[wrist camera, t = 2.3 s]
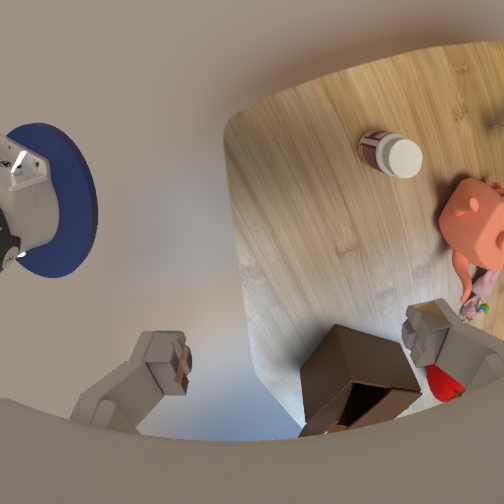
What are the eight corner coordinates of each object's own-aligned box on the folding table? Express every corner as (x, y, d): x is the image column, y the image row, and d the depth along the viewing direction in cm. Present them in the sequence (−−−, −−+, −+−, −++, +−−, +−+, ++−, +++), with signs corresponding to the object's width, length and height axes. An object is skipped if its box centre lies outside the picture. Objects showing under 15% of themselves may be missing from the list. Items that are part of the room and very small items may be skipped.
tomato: (430, 342, 46) (453, 383, 36) (470, 333, 45) (494, 368, 35) (412, 380, 51) (428, 419, 41) (450, 370, 50) (468, 405, 40)
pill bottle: (382, 173, 32) (414, 190, 25) (351, 156, 32) (377, 169, 24) (397, 141, 30) (432, 150, 23) (366, 122, 30) (397, 126, 22)
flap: (306, 426, 37) (304, 425, 37) (353, 384, 32) (350, 382, 32) (287, 459, 31) (285, 458, 31) (338, 422, 26) (335, 420, 26)
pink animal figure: (469, 311, 44) (502, 250, 35) (481, 333, 39) (519, 272, 30) (448, 313, 44) (481, 250, 35) (460, 337, 39) (500, 273, 30)
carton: (299, 369, 48) (305, 426, 37) (335, 323, 43) (352, 384, 32) (362, 383, 50) (376, 432, 39) (399, 343, 45) (423, 394, 34)
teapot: (490, 243, 36) (528, 275, 26) (428, 266, 38) (464, 307, 28) (492, 160, 30) (540, 180, 20) (424, 175, 32) (473, 200, 22)
